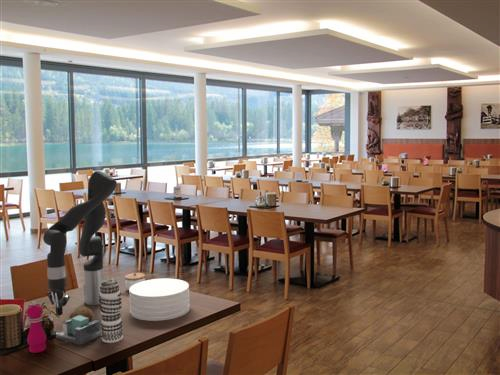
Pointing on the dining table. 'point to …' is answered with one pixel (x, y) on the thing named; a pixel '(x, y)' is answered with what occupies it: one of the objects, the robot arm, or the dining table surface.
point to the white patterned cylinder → (110, 311)
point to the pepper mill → (36, 329)
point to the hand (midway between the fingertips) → (59, 314)
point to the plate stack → (159, 299)
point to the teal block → (78, 322)
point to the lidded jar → (134, 279)
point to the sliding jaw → (67, 327)
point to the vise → (82, 333)
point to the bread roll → (82, 312)
